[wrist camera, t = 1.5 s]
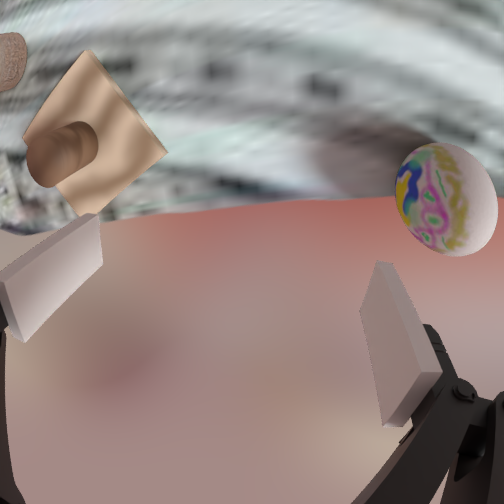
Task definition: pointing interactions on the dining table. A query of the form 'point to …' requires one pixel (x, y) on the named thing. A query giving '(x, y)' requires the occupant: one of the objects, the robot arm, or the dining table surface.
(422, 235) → the decorative egg
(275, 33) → the dining table surface
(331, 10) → the dining table surface
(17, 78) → the planter
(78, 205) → the square base plate
